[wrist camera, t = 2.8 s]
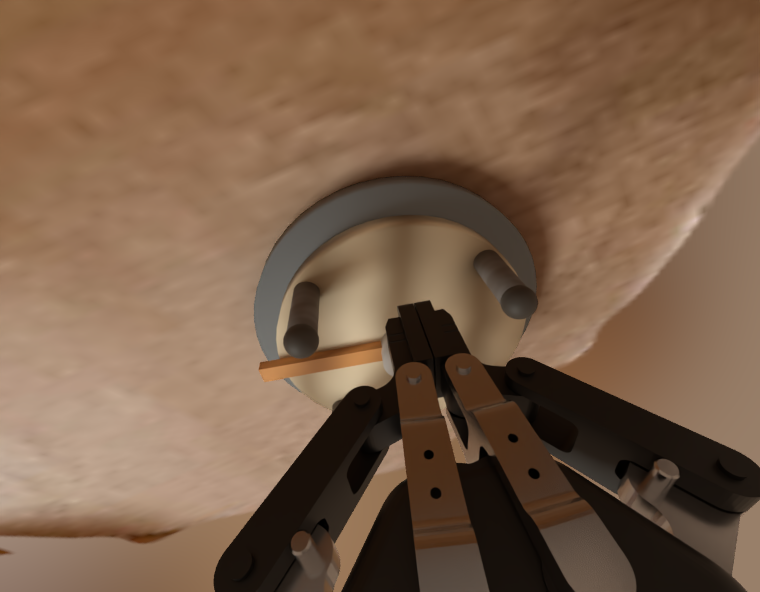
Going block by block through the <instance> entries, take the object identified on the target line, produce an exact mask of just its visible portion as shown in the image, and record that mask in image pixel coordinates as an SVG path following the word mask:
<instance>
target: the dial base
mask: <svg viewBox="0 0 760 592" xmlns="http://www.w3.org/2000/svg"><path fill="white" fill-rule="evenodd" d="M400 215H426V216H432V217H439V218H444V219H447V220H450V221H454V222H457V223H460V224H462V225H464V226H466V227H468V228H470V229H472V230H474V231H476V232H477V233H478V234H480V235H481V236H483V237H484V238H486V239H487V240H488V241H489V242H490V243H491V244H492V245H493V246H494V247H495V248H496V249H497V250H498V251H499V252H500V253H501V254H502V255H503V256H504V257H505V259H506V260H507V261H508V262H509V263H510V265H511V266H512V268H513V269H514V270H515V272H516V273H517V275H518V277H519V278H520V280H521V281H522V282H523V283H524V284H525V285H526V286H527V287H529V288H530V289H532V290H533V291H534V293H535V294H536V287H537V285H536V271H535V267H534V263H533V259H532V255H531V253H530V251H529V249H528V246H527V244H526V242H525V240H524V239H523V237H522V236H521V234H520V233H519V231H518V230H517V228H516V227H515V226H514V225H513V224H512V223H511V222H510V221H509V220H508V219H507V218H506V217H505V216H504V215H503V214H502V213H501V212H499V211H498V210H497V209H496V208H495V207H494V206H492V205H491V204H490V203H488V202H487V201H486V200H484V199H483V198H482V197H480V196H479V195H477V194H475V193H473V192H471V191H469V190H467V189H465V188H463V187H461V186H458V185H455V184H452V183H449V182H446V181H443V180H438V179H432V178H426V177H414V176H396V177H386V178H378V179H374V180H370V181H365V182H361V183H357V184H355V185H352V186H349V187H347V188H344V189H341V190H339V191H336V192H335V193H333V194H331V195H329V196H327V197H325V198H324V199H322V200H320V201H318V202H317V203H315V204H314V205H313V206H311V207H310V208H309V209H307V210H306V211H305V212H303V213H302V214H301V215H300V216H299V217H298V218H297V219H296V220H295V221H294V222H293V223H292V224H291V225H290V226H289V227H288V228H287V229H286V230H285V231H284V233H283V234H282V235H281V237H280V238H279V239H278V241H277V242H276V243H275V245H274V247H273V249H272V251H271V253H270V254H269V256H268V258H267V260H266V263H265V266H264V269H263V272H262V275H261V278H260V281H259V284H258V287H257V291H256V297H255V303H254V322H255V328H256V333H257V337H258V340H259V343H260V346H261V348H262V351H263V352H264V354H265V356H266V358H267V359H268V361H271V360H277V359H280V358H279V355H278V350H277V343H276V333H277V324H278V319H279V314H280V310H281V305H282V300H283V297H284V294H285V292H286V289H287V287H288V284H289V282H290V281H291V279H292V277H293V276H294V274H295V272H296V271H297V270H298V268H299V267H300V266H301V265H302V263H303V262H304V261H305V260H306V259H307V258H308V257H309V256H310V255H311V254H312V253H313V252H314V251H315V250H316V249H317V248H319V247H320V246H321V245H323V244H324V243H325V242H327V241H328V240H330V239H331V238H333V237H334V236H336V235H338V234H340V233H342V232H344V231H346V230H347V229H349V228H352V227H354V226H357V225H360V224H362V223H365V222H368V221H372V220H376V219H380V218H384V217H391V216H400ZM531 316H532V315H531ZM531 316H529V317H528V318H526V320H525V325H524V330H523V334H524V332H525V330H526V328H527V326H528V323H529V321H530V318H531ZM523 334H522V335H523ZM521 337H522V336H521ZM284 380H285V381H286V382H287V383H288V384H290V385H291V386H292V387H294V388H295V389H297V390H298V391H299V392H301V391H300V390H299V389H298V388H297V387H296V386H295V385H294V384H293V382H292V381H291V380H290V378H284ZM301 393H302V392H301Z"/></svg>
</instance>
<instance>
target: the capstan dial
mask: <svg viewBox="0 0 760 592" xmlns="http://www.w3.org/2000/svg"><path fill="white" fill-rule="evenodd" d="M427 300H430V301H431V304H432V306H433V308H434V310H440V309H444V310H445V311H447V312H448V313H449V314H451V316H452V318H453V320H454V322H455V324H456V326H457V328H458V330H459V332H460V334H461V336H462V337H463V339H464V341H465V343H466V345H467V347H468V349H469V351H470V353H471V355H473V356H475V357H476V358H478V359H479V360H480V362H481V363H483V364H486V365H492V366H505V365H506V363H507V362H508V361H509V359H510V358H511V357H512V355H513V353H514V351H515V349H516V348H517V346H518V344H519V341H520V339H521V336H522V334H523V330H524V325H525V320H526V318H528V317H529V316H531V315H532V314H533V313H534V312H535V310H536V308H537V305H538V300H537V296H536V294H535V293H534V291H533V290H532V289H530V288H529V287H527V286H526V285H525V284H524V283H523V282H522V281H521V280H520V278H519V277H518V275H517V273H516V272H515V270H514V269H513V268H512V266H511V265H510V263H509V262H508V261H507V260H506V259H505V257H504V256H503V255H502V254H501V253H500V252H499V251H498V250H497V249H496V248H495V247H494V246H493V245H492V244H491V243H490V242H489V241H488V240H487V239H486V238H484V237H483V236H481V235H480V234H478V233H477V232H476V231H474V230H472V229H470V228H468V227H466V226H464V225H462V224H460V223H457V222H454V221H450V220H447V219H444V218H439V217H432V216H426V215H400V216H391V217H384V218H380V219H376V220H372V221H368V222H365V223H362V224H360V225H357V226H354V227H352V228H349V229H347V230H346V231H344V232H342V233H340V234H338V235H336V236H334V237H333V238H331V239H330V240H328V241H327V242H325V243H324V244H323V245H321V246H320V247H319V248H317V249H316V250H315V251H314V252H313V253H312V254H311V255H310V256H309V257H308V258H307V259H306V260H305V261H304V262H303V263H302V265H301V266H300V267H299V268H298V270H297V271H296V272H295V274H294V276H293V277H292V279H291V281H290V282H289V284H288V287H287V289H286V292H285V294H284V297H283V300H282V305H281V310H280V314H279V319H278V324H277V333H276V343H277V350H278V355H279V358H280V359H277V360H271V361H266V362H260V366H259V372H260V374H261V376H262V378H263V380H264V382H268V381H273V380H279V379H284V378H290V380H291V381H292V382H293V384H294V385H295V386H296V387H297V388H298V389H299V390H300V391H301V392H302V393H303V394H304V395H306V396H307V397H308V398H310V399H311V400H312V401H314V402H316V403H317V404H319V405H321V406H323V407H324V408H327V409H329V410H332V412H333V411H334V410H335V409H336V407H337V406H338V405H339V403H340V402H341V401H342V400H343V398H344V397H345V396H346V394H347V393H348V392H349V391H351V390H352V389H354V388H356V387H359V386H370V387H373V388H375V389H378V388H380V387H382V386H384V385H386V384H387V383H388V382H389V381H390V380H391V379H392V377H393V375H394V373H393V368H392V363H391V359H390V354H389V349H388V342H387V336H386V329H385V326H386V323H387V321H388V319H390V318H396V317H398V311H397V306H400V305H405V304H411V303H413V304H414V303H416V302H422V301H427ZM438 401H439V406H440V410H442V409H445V408H446V403H445V400H444V397H441V398H438Z"/></svg>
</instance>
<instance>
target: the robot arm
mask: <svg viewBox="0 0 760 592" xmlns="http://www.w3.org/2000/svg"><path fill="white" fill-rule="evenodd" d="M397 311H398V317H396V318H390V319H388V321H387V323H386V326H385V329H386V336H387V342H388V349H389V354H390V359H391V363H392V368H393V373H394V375H393V377H392V379H391V380H390V381H389V382H388V383H387V384H386V385H384V386H382V387H380V388H378V389H375V388H373V387H370V386H359V387H356V388H354V389H352V390H351V391H349V392H348V393H347V394H346V396H345V397H344V398H343V400H342V401H341V402H340V403H339V405H338V406H337V407H336V409H335V410H334V411H333V412H332V414H331V415H330V416H329V418H328V419H327V420H326V422H325V423H324V424H323V425H322V427H321V428H320V429H319V431H318V432H317V433H316V434H315V436H314V437H313V438H312V440H311V441H310V442H309V443H308V445H307V446H306V447H305V449H304V450H303V451H302V452H301V454H300V455H299V456H298V458H297V459H296V460H295V462H294V463H293V464H292V465H291V467H290V468H289V469H288V471H287V472H286V473H285V474H284V476H283V477H282V478H281V480H280V481H279V482H278V483H277V485H276V486H275V487H274V489H273V490H272V491H271V492H270V494H269V495H268V496H267V498H266V499H265V500H264V502H263V503H262V504H261V505H260V507H259V508H258V509H257V511H256V512H255V513H254V514H253V516H252V517H251V518H250V520H249V521H248V522H247V523H246V525H245V526H244V528H243V529H242V530H241V531H240V533H239V534H238V535H237V536H236V538H235V539H234V540H233V542H232V543H231V544H230V545H229V547H228V548H227V549H226V551H225V552H224V553H223V555H222V557H221V558H220V560H219V562H218V564H217V567H216V571H215V574H214V589H215V592H333V590H334V585H335V583H336V581H337V578H338V575H339V571H340V556H339V553H338V550H337V548H336V546H335V542H336V540H337V538H338V537H339V535H340V533H341V531H342V530H343V528H344V526H345V525H346V523H347V521H348V519H349V517H350V516H351V514H352V512H353V511H354V509H355V507H356V505H357V504H358V502H359V500H360V498H361V497H362V495H363V493H364V491H365V490H366V488H367V486H368V484H369V483H370V481H371V479H372V478H373V476H374V474H375V472H376V471H377V469H378V467H379V465H380V464H381V462H382V460H383V458H384V457H385V455H386V453H387V451H388V449H389V446H390V445H391V444H393V443H395V442H397V441H399V440H400V439H402V440H403V449H404V457H405V466H406V474H407V479H406V480H404V481H403V482H401V483H400V484H399V485H398V486H397V487H395V489H394V490H393V491H392V492H391V493H390V494H389V496H388V497H387V499H386V500H385V502H384V504H383V506H382V508H381V510H380V512H379V514H378V516H377V518H376V520H375V522H374V524H373V526H372V529H371V531H370V533H369V535H368V537H367V539H366V541H365V543H364V545H363V547H362V549H361V552H360V554H359V556H358V558H357V560H356V562H355V564H354V566H353V568H352V571H351V573H350V575H349V577H348V579H347V581H346V583H345V585H344V587H343V589H342V591H341V592H747V591H746V590H745V589H744V588H743V587H742V586H741V584H739V583H738V582H737V581H736V580H735V579H734V578H733V577H732V570H733V563H734V556H735V549H736V541H737V535H738V527H739V521H740V517H741V516H742V515H743V514H744V513H746V511H748V510H749V509H750V508H751V507H752V506H753V505H754V504H755V503H757V502H758V501H759V500H760V467H759V466H758V465H757V464H756V463H754V462H753V461H752V460H751V459H749V458H748V457H746V456H745V455H743V454H741V453H739V452H737V451H736V450H733V449H731V448H729V447H727V446H725V445H722V444H720V443H718V442H716V441H713V440H711V439H709V438H707V437H704V436H702V435H700V434H698V433H696V432H693V431H691V430H689V429H687V428H685V427H682V426H680V425H678V424H676V423H673V422H671V421H669V420H667V419H664V418H662V417H660V416H658V415H655V414H653V413H651V412H649V411H647V410H644V409H642V408H640V407H638V406H636V405H633V404H631V403H629V402H627V401H624V400H622V399H620V398H618V397H616V396H613V395H611V394H609V393H607V392H604V391H602V390H600V389H598V388H596V387H593V386H591V385H589V384H587V383H584V382H582V381H580V380H578V379H575V378H573V377H571V376H569V375H566V374H564V373H562V372H560V371H558V370H556V369H553V368H551V367H549V366H547V365H544V364H542V363H540V362H538V361H536V360H533V359H530V358H526V357H517V358H514V359H511V360H510V361H509V362H508V363H507V364H506V367H505V366H492V365H486V364H483V363H481V362H480V360H479V359H478V358H476V357H475V356H473V355H471V353H470V351H469V349H468V347H467V345H466V343H465V341H464V339H463V337H462V336H461V334H460V332H459V330H458V328H457V326H456V324H455V322H454V320H453V318H452V316H451V314H449V313H448V312H447V311H445V310H444V309H440V310H434V308H433V306H432V304H431V301H430V300H427V301H422V302H416V303H414V304H413V303H411V304H405V305H400V306H397ZM441 397H444V400H445V403H446V414H447V416H448V419H449V421H450V423H451V425H452V428H453V430H454V432H455V435H456V437H457V439H458V441H459V443H460V446H461V448H462V450H463V452H464V455H465V458H466V462H467V463H466V464H465V463H456V461H455V457H454V453H453V449H452V445H451V441H450V437H449V433H448V429H447V425H446V421H445V418H444V416H442V414H441V410H440V406H439V401H438V398H441ZM550 454H552V455H553V456H555V457H556V458H558V459H560V460H561V461H563V462H565V463H566V464H568V465H569V466H571V467H573V468H574V469H576V470H578V471H579V472H581V473H583V474H584V475H586V476H588V477H589V478H591V479H592V480H594V481H596V482H598V483H599V484H601V485H602V486H604V487H606V488H607V489H609V490H611V491H612V492H614V493H616V494H617V495H618V496H619V499H620V500H618V499H616V498H615V497H613V496H612V495H610V494H609V493H607V492H606V491H604V490H603V489H601V488H599V487H598V486H596V485H595V484H593V483H592V482H590V481H589V480H587V479H586V478H584V477H583V476H581V475H580V474H578V473H576V472H575V471H573V470H572V469H570V468H569V467H567V466H565V465H564V464H562V463H560V462H557V461H555V460H554V459H553V458H552V456H551V455H550Z"/></svg>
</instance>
